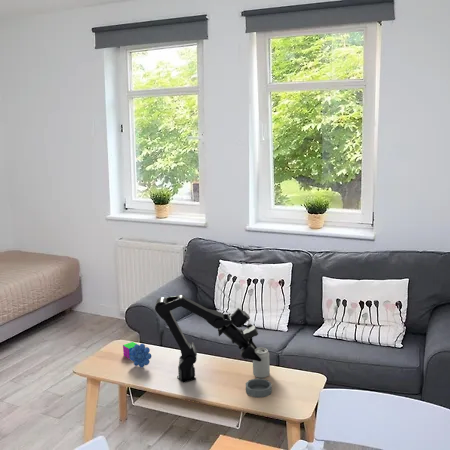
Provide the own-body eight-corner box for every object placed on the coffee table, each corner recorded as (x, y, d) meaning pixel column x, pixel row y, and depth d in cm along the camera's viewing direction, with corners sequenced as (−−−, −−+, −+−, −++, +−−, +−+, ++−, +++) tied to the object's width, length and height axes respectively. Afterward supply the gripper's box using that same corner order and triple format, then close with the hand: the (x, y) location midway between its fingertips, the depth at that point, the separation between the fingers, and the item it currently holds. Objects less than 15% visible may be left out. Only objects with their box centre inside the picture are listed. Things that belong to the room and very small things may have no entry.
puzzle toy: (139, 356, 276) (139, 345, 275) (129, 359, 272) (128, 348, 271) (133, 352, 280) (132, 341, 279) (123, 356, 277) (122, 345, 275)
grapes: (157, 365, 265) (155, 341, 262) (149, 371, 259) (147, 347, 256) (136, 361, 270) (134, 337, 267) (128, 367, 264) (126, 343, 261)
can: (272, 373, 254) (272, 348, 251) (264, 380, 248) (264, 355, 245) (258, 369, 258) (257, 345, 255) (249, 376, 252) (249, 351, 249)
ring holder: (255, 400, 231) (254, 393, 231) (241, 389, 240) (240, 382, 240) (276, 392, 237) (276, 386, 236) (262, 382, 246) (262, 376, 245)
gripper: (248, 329, 238) (275, 352, 241) (245, 313, 256) (269, 335, 259) (230, 347, 240) (257, 370, 242) (228, 330, 258) (253, 352, 260)
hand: (259, 356), depth 251 cm, fingers open, 9 cm apart
